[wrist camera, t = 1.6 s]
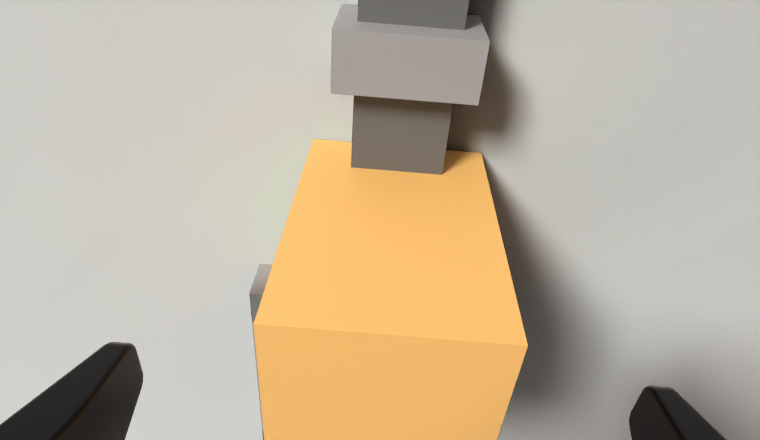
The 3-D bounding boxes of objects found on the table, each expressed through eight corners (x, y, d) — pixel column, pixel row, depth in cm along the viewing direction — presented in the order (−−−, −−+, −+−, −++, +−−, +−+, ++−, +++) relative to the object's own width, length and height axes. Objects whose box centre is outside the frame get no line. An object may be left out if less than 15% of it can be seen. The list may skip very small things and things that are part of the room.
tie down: (205, -448, 8) (-173, -1003, 3) (699, -405, 8) (1241, -872, 3) (271, 416, 19) (223, 616, 14) (468, 432, 19) (489, 636, 14)
